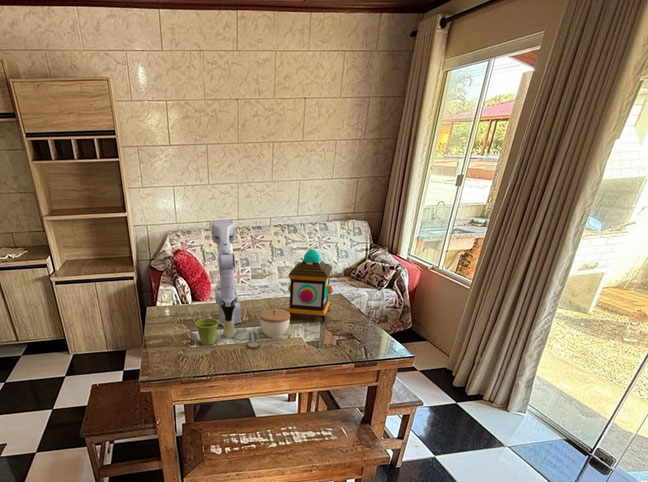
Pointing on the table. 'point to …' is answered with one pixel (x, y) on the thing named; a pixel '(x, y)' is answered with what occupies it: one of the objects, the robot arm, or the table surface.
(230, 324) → the shaker
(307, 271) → the decorative lantern
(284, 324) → the lidded bowl
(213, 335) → the plant pot
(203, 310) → the table surface
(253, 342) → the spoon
